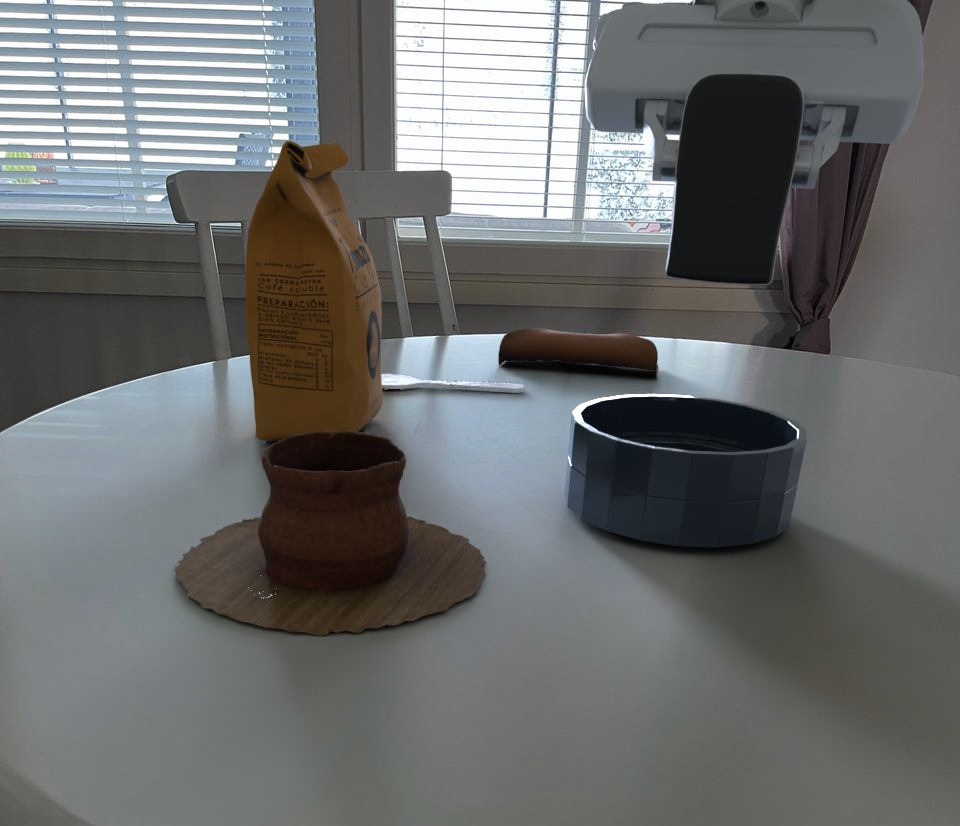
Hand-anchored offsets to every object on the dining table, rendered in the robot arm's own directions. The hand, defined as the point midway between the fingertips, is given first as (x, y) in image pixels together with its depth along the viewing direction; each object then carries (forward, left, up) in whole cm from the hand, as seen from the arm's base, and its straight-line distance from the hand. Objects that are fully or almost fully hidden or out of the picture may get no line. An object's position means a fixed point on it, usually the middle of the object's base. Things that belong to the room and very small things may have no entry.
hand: (733, 177), depth 57 cm
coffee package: (+28, -16, -21) cm, 39 cm away
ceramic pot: (+23, +13, -21) cm, 34 cm away
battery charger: (0, -1, -6) cm, 6 cm away
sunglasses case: (+3, -47, -21) cm, 52 cm away
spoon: (+19, -34, -21) cm, 44 cm away
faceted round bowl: (+1, +2, -21) cm, 21 cm away
